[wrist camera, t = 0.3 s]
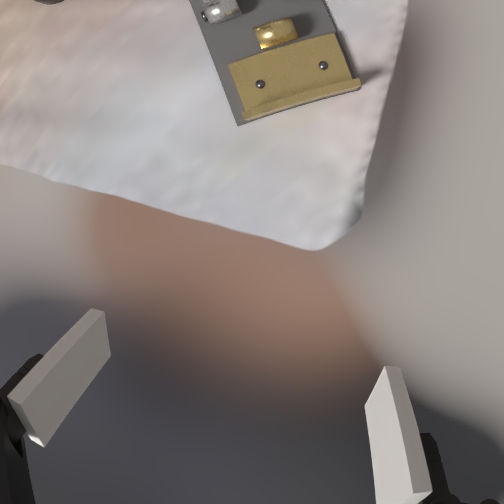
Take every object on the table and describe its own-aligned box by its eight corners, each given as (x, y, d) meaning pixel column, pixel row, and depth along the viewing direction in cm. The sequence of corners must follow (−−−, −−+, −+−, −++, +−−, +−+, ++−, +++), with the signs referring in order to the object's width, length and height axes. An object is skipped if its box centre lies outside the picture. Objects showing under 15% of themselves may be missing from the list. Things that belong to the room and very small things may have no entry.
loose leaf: (220, 43, 30) (211, 34, 26) (323, 12, 27) (325, -1, 24) (249, 120, 33) (243, 119, 29) (354, 89, 30) (361, 85, 27)
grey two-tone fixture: (173, -40, 26) (172, -41, 26) (279, -75, 23) (279, -77, 22) (238, 126, 34) (237, 126, 34) (358, 90, 31) (359, 90, 30)
